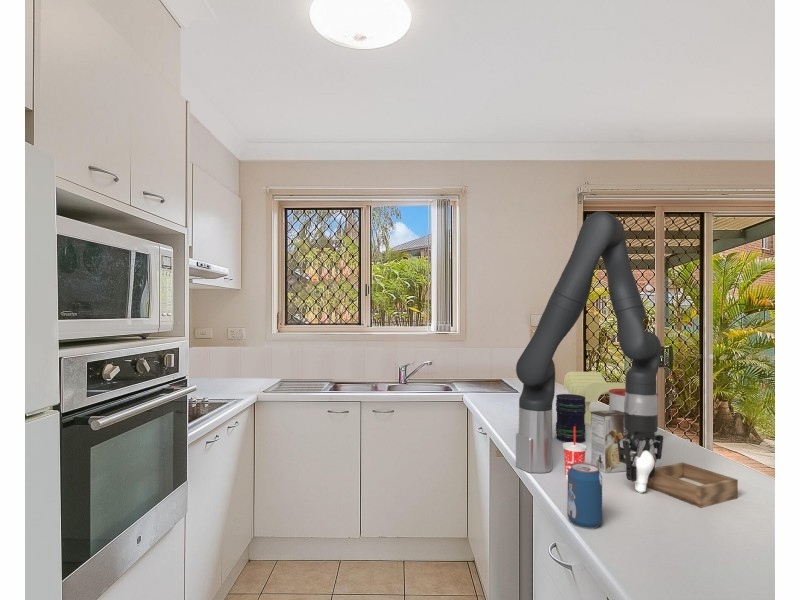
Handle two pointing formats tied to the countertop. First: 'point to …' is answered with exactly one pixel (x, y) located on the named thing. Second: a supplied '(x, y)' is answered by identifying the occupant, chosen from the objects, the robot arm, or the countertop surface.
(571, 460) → the beverage cup
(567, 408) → the storage jar
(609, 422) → the coffee box
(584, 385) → the hair dryer
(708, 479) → the parts box
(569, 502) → the soda can
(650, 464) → the lightbulb
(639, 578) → the countertop surface
